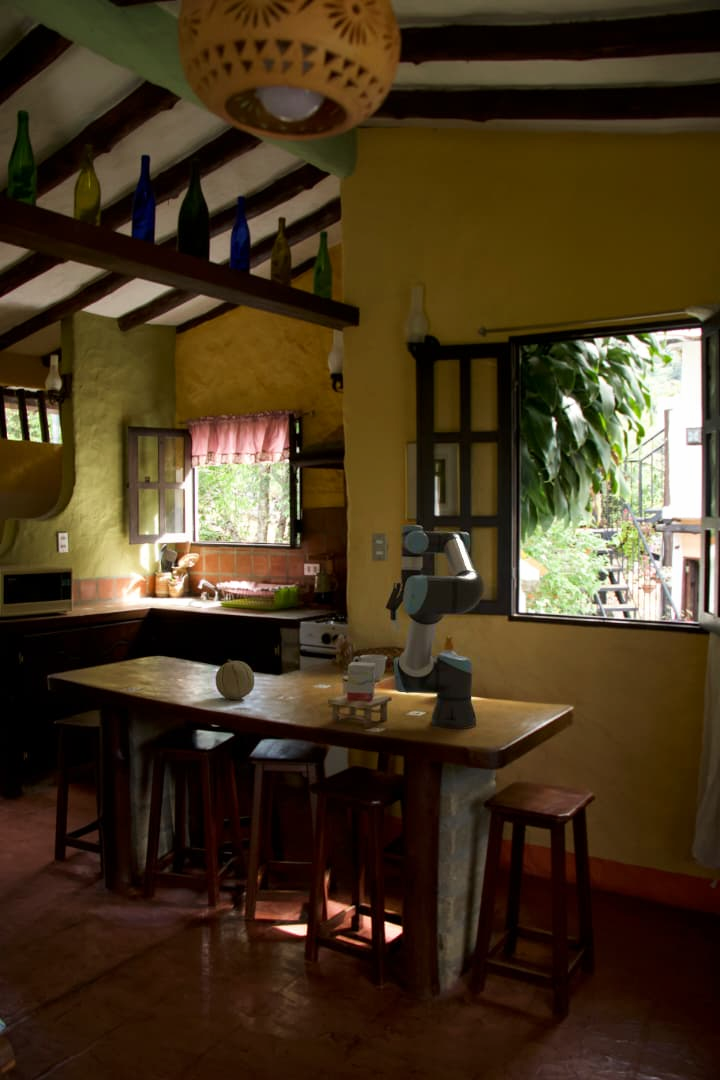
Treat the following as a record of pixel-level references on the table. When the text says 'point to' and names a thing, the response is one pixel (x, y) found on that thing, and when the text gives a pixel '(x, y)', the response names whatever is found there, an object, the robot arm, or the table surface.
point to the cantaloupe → (234, 680)
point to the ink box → (361, 681)
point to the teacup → (378, 661)
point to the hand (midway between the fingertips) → (410, 628)
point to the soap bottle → (448, 646)
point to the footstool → (359, 708)
